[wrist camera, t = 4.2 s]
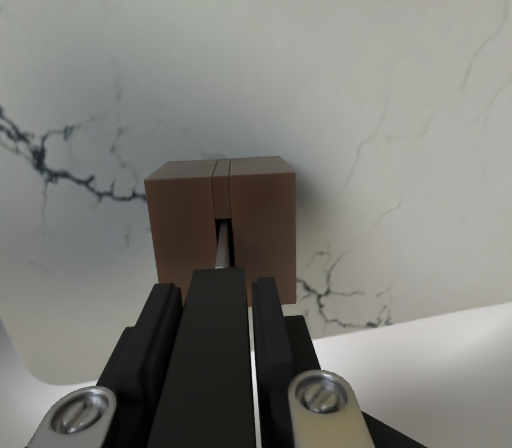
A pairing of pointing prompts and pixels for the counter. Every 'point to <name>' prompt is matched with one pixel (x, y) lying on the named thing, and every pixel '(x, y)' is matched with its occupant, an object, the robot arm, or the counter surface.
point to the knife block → (223, 207)
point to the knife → (209, 363)
